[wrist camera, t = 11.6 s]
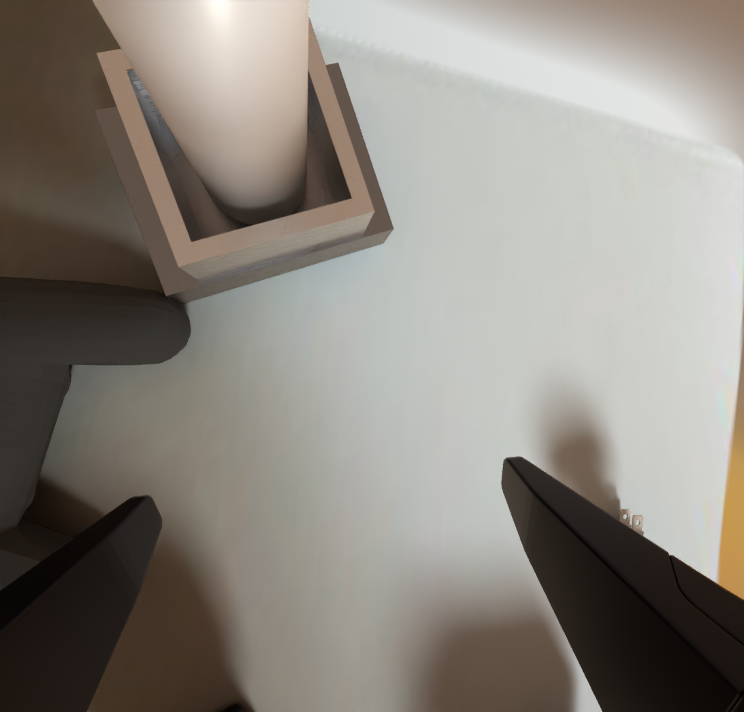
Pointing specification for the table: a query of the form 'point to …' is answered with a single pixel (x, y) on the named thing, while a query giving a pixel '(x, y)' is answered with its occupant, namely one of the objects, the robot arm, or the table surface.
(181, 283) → the grey stepped open box
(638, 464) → the table surface
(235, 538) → the table surface
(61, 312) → the gaming controller
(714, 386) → the table surface
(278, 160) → the orange lidded white canister
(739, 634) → the robot arm
